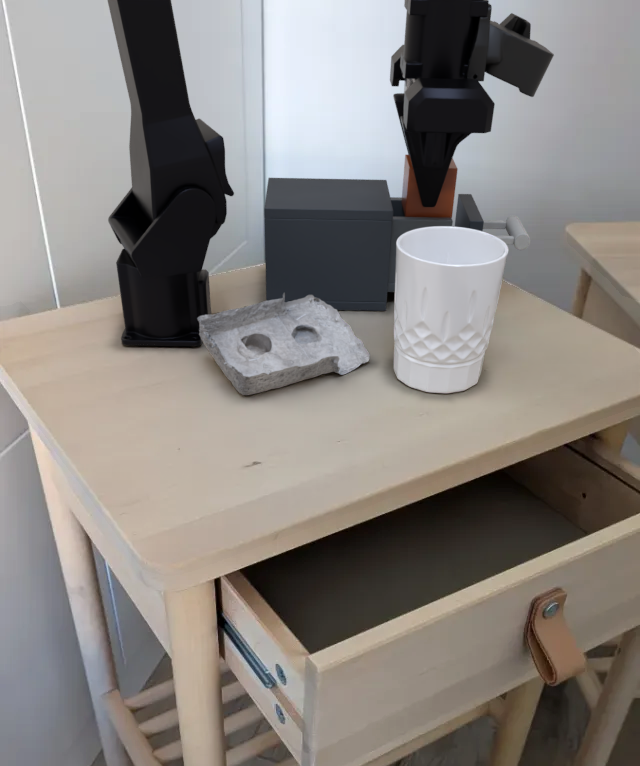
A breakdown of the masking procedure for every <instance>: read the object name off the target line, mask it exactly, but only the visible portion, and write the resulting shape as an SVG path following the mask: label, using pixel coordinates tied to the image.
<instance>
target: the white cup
mask: <svg viewBox="0 0 640 766" xmlns="http://www.w3.org/2000/svg"><path fill="white" fill-rule="evenodd" d="M496 236H497V235H493V234H491V233H488V232H485V231H484V230H483V231H479V230H475V229H470V228H463V227H455V226H453V225H452V226H433V227H424V228H418V229H414V230H411V231H408V232H406V233H404V234H402V235H401V236H400V237H399V238H398V239H397V241H396V267H395V292H394V299H393V301H394V302H393V319H394V320H393V341H394V346H393V347H394V348H393V371H394V373H395V376H396V378H397V380H399V381H400V382H402V383H403V384H405V385H406V386H408V387H409V388H412V389H415V390H418V391H422V392H424V393H425V392H426V393H434V394H452V393H458V392H463V391H466V390H468V389H470V388H471V387H474V386H475V385H477V384H478V381H479V379H480V378H481V374H482V370H483V365H484V360H485V356H486V351H487V349H488V347H489V343H490V338H491V333H492V330H493V326H494V322H495V315H496V312H497V310H498V305H499V304H498V303H499V298H500V294H501V288H502V284H503V279H504V273H505V270H506V264H507V260H508V255H509V245H506V243H505V242H504V241H502V240H501V239H499V238H498V237H496Z"/></svg>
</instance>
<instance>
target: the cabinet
mask: <svg viewBox="0 0 640 766" xmlns="http://www.w3.org/2000/svg"><path fill="white" fill-rule="evenodd" d="M266 186H267V187H266V194H265V201H264V207H263V212H264V213H263V216H264V258H265V259H264V261H265V301H269V300H274V299H281V298H283V294H284V292H285V300H284V302H288V301H293V300H298V299H301V298H305V297H306V296H308V295H313V296H314V297H316V298H319V299H320V300H322V301H324V302H325V303H326V304H328V305H331V306H332V307H333V308H334V309H337V311H370V312H371V311H374V312H377V311H379V312H386V311H387V302H388V292H387V291H388V277H389V263H390V249H391V236H392V222H393V221H392V220H393V208H392V203H391V198H390V197H391V194H390V190H389V185H388V181H387V179H363V178H362V179H361V178H360V179H358V178H355V179H354V178H349V179H348V178H347V179H346V178H308V177H307V178H305V177H303V178H302V177H300V178H299V177H268V179H267V185H266Z"/></svg>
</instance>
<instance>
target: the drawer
mask: <svg viewBox="0 0 640 766" xmlns="http://www.w3.org/2000/svg"><path fill="white" fill-rule="evenodd" d="M390 198H391V203H392V208H393V220H392V221H393V222H392V236H391V249H390V263H389V277H388V291H387V293H395V267H396V241H397V239H398V238H399V237H400V236H401V235H402V234H404V233H406V232H408V231H411V230H414V229H418V228H424V227H433V226H453V222H454V227H463V228H470V229H475V230H479V231H483V232H484V230H506V233H507V234H508V235H495V236H496V237H498V238H499V239H501V240H502V241H504V242H505V243H506V245H507V246H514V248H515V249H516V250H517V251H524V250H526V249H528V248H529V247H530V244H531V238H530V235H529V234H528V232H527V230H526V228H525V226H524V225H523V223H522V221H521V219H520V218H519V217H518V216H517V215H509V216H508V217H507V218H506V219H505V220H491V219H489V220H488V219H484V218H483V216H482V214H481V212H480V210H479V208H478V206H477V204H476V201H475V199H474V197H473V195H472V194H471V193H458V194H457V203H456V211H455V218H454V219H455V220H454V221H453V217H452V218H443V217H405V214H404V210H403V207H402V203H401V202H402V197H399V196H398V197H394V196H393V197H391V196H390Z"/></svg>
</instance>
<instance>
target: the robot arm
mask: <svg viewBox="0 0 640 766" xmlns="http://www.w3.org/2000/svg"><path fill="white" fill-rule="evenodd" d="M489 2H490V1H489V0H404V3H403V4H404V5H403V7H404V8H405V10H406V16H405V29H404V43H403V44H402V45H401V46H400V47H398V49H397V50H396V51H395V52H394V53H393V54H392V55H391V57H390V58H391V59H390V68H389V69H390V70H389V71H390V72H389V82H390V85H391V87H400V81H402V82H403V81H404V85H403V93H402V92H401V93H400V92H399V93H393V96H392V97H393V101H394V106H395V108H396V113H397V116H398V120H399V124H400V128H401V131H402V132H401V133H402V136H403V140H404V144H405V147H406V151H407V155H410V158H411V162H412V166H413V170H414V174H415V178H416V182H417V186H418V190H419V194H420V198H421V202H422V206H423V207H435V206H436V203H437V201H438V198H439V195H440V192H441V189H442V186H443V183H444V180H445V177H446V175H447V172H448V169H449V166H450V163H451V160H452V158H453V159H454V155H455V152H456V150H457V147H458V146H459V144H460V143H462V142H463V141H465V139H466V138H467V137H469V136H470V135H471V134H487V133H490V132H492V125H493V117H494V113H495V112H494V111H495V102H494V100H493V99H492V98H491V96H490V95H489V94H488V92H487V91H486V90H485V88H484V87H483V86H482V84H481V83H480V82H484V81H485V75H486V74H488V75H490V76H491V77H493V78H496V79H499V81H502V82H505V83H506V84H509V85H511V86H513V87H516V88H517V89H518V91H519V93H521V94H523V95H525V96H528V97H531V98H533V97H535V94H536V93H537V91H538V90H539V89H538V88H539V87H540V84H541V83H542V80H543V78H544V76H545V74H546V72H547V71H548V68H549V66H550V64H551V62H552V60H553V58H554V56H555V55H554V53H553V52H552V51H550V50H549V49H548V48H547V47H546V46H544V45H542V44H541V43H539V42H538V41H536V40H533V39H531V30H532V29H531V27H532V24H531V22H529V21H528V20H527V19H524V18H523V17H520V16H519V15H517V14H515V13H513V12H511V13H510V14H509V15H507V16H506V17H505V18H504V19H503V20H502V21H501V22H500V23H498V22H497V21H495V20H491V17H492V11H493V10H492V9H493V8H492V4H491V3H489ZM107 4H108V10H109V13H110V18H111V23H112V27H113V31H114V35H115V40H116V44H117V50H118V54H119V59H120V63H121V67H122V71H123V76H124V81H125V85H126V89H127V94H128V98H129V103H130V104H129V105H130V128H129V143H128V145H129V146H128V148H129V149H128V150H129V163H130V164H129V166H130V178H131V187H130V189H129V190H128V191H127V193H126V194H125V196H124V197H123V198H122V200H121V201H120V202H119V203H118V204H117V206H116V207H115V208H114V210H113V211H112V212H111V214H110V215H109V216H108V219H107V221H108V224H109V226H110V228H111V230H112V232H113V234H114V236H115V238H116V240H117V242H118V243H119V244H120V245H121V246H122V249H121V252H120V253H119V255H118V258H117V260H116V262H115V264H116V272H117V278H118V286H119V293H120V294H119V295H120V301H121V309H122V316H123V323H124V330H123V331H122V334H121V337H120V342H121V345H123V346H150V347H151V346H152V347H153V346H155V347H161V346H163V347H199V346H201V345H202V344H203V341H202V340H201V337H200V335H199V333H200V332H199V330H200V329H199V328H200V327H199V321H198V319H197V318H198V317H199V316H202V315H211V314H212V304H211V303H212V301H211V288H210V272H209V271H208V270H207V269H203V266H204V263H205V259H206V256H207V252H208V248H209V245H210V241H211V239H212V238H213V237H215V236H216V235H217V233H218V232H219V230H220V228H221V227H222V225H224V224H225V222H226V219H227V213H228V207H227V203H228V202H227V198H226V196H228V197H233V196H235V192H234V189H233V188H232V187H231V185H230V183H229V180H228V176H227V173H226V172H227V171H226V148H225V147H226V146H225V139H224V137H223V136H222V135H220V133H218V131H216V130H215V129H213V128H212V127H211V126H210V125H209V124H207V123H206V122H205V121H203V120H202V118H196V117H195V115H194V112H193V111H192V107H191V104H190V98H189V93H188V87H187V82H186V77H185V71H184V70H185V69H184V64H183V59H182V54H181V48H180V43H179V37H178V32H177V25H176V21H175V15H174V9H173V3H172V0H107Z"/></svg>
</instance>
